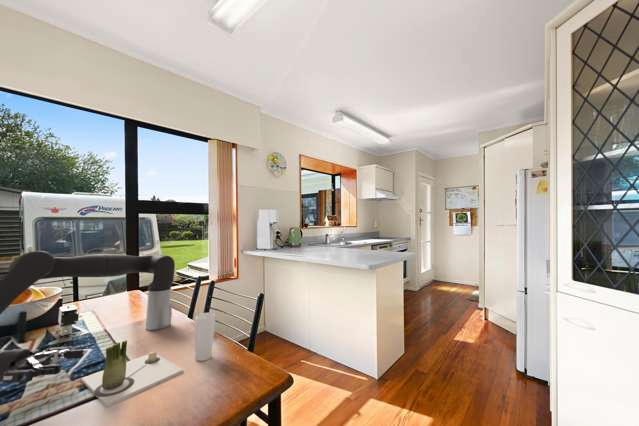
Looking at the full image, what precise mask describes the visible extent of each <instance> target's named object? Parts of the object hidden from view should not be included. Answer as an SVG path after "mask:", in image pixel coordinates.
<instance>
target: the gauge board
mask: <svg viewBox="0 0 639 426" xmlns="http://www.w3.org/2000/svg"><path fill="white" fill-rule="evenodd" d="M103 372H104V369H103V370H100V371H97V372H95V373H92V374H90V375H87V376H84V377H81V379H80V382H81V383H82V384H83V385H84V386H86V388H87V389H88V390H89V391H91V393H92V394H93V395H94V396H95V397H96V398H97V399H98V400H99V401H101V403H102V405H104V406H105V407H106V408H108V407H111V406H112V405H115V404H117V403H119V402H121V401H123V400H125V399H128V398H130V397H133V396H134V395H136V394H138V393H141V392H142V391H145V390H148V389H149V388H151V387H154V386H156V385H159V384H160V383H162V382H165V381H167V380H169V379H172V378H173V377H176V376H178V375H180V374H183V373H184V369H183V368H182V367H180V366H178V365H176V364H174V363H173V362H171V361H169V360H168V359H166V358H164V357H162V356H160V355H159V354H158V352H157V351H156V350H154V351H150V352H148V354H145V355H143V356H140V357H136V358H134V359H131V360H128V361H126V375H125V380H124V382H123V384H121V385H120V386H118V387H116V388H113V389H110V390H106V389H103V387H102V378H103Z"/></svg>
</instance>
